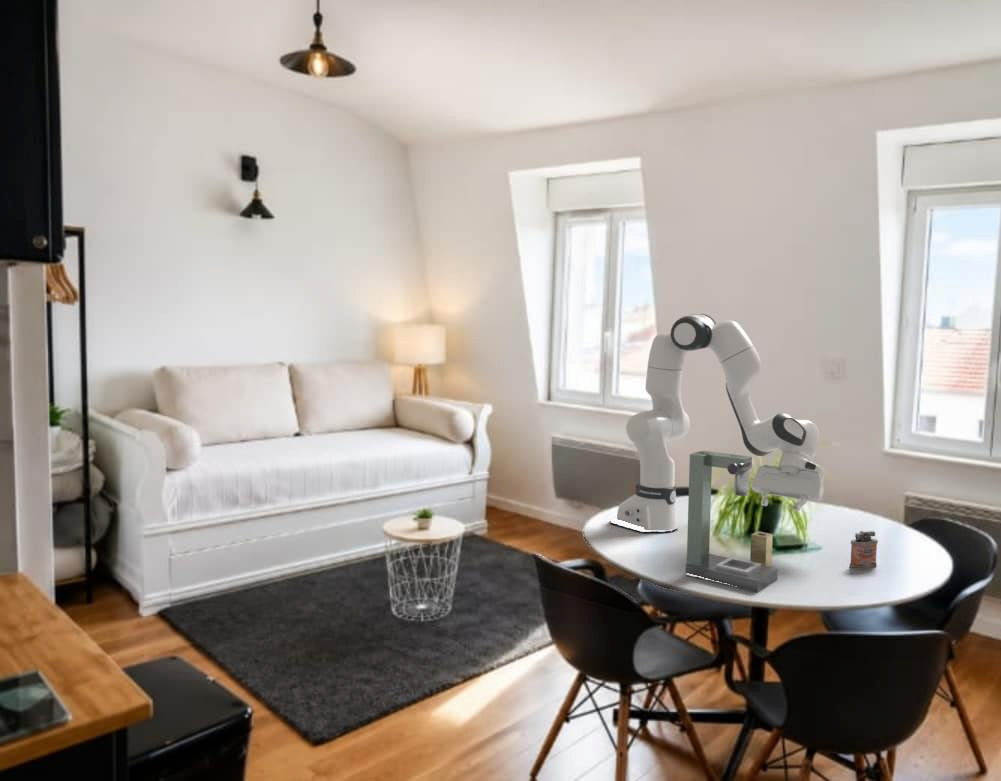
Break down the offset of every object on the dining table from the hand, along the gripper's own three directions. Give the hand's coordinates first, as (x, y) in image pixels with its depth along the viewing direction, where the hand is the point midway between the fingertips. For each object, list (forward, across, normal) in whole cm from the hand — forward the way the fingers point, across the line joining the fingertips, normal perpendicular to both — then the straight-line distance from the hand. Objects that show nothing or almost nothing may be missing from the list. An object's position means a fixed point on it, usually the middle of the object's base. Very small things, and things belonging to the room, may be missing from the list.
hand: (779, 507), depth 233 cm
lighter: (+6, +22, +14) cm, 27 cm away
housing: (+19, 0, +2) cm, 19 cm away
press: (+31, -2, -11) cm, 33 cm away
